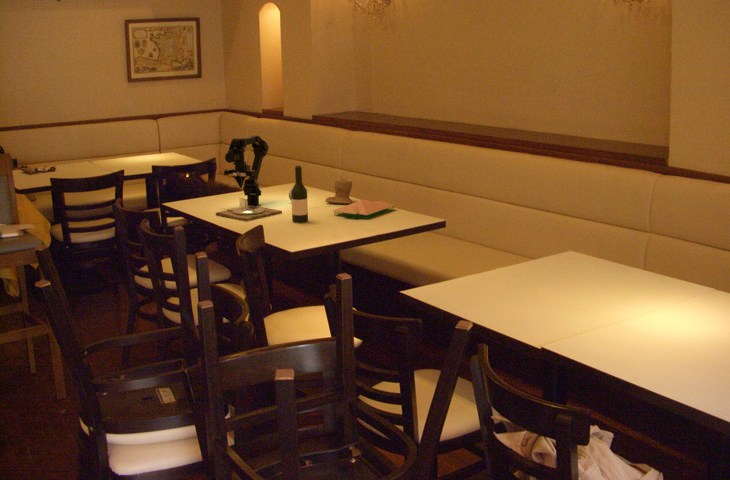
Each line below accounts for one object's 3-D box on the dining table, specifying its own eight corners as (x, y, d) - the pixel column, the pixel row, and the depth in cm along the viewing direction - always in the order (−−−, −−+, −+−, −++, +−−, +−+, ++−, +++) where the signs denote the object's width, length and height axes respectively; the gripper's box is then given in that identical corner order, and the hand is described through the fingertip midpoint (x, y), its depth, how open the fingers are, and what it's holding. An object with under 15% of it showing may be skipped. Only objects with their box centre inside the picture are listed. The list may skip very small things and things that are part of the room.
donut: (302, 201, 449) (302, 185, 447) (305, 202, 446) (304, 185, 444) (287, 203, 444) (287, 186, 442) (290, 204, 442) (289, 187, 439)
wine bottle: (292, 220, 399) (290, 164, 391) (308, 219, 399) (306, 164, 392) (292, 223, 391) (290, 167, 383) (308, 222, 391) (306, 166, 384)
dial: (226, 210, 418) (225, 199, 417) (255, 206, 428) (255, 196, 426) (241, 216, 400) (240, 205, 399) (271, 212, 409) (271, 202, 408)
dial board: (251, 207, 432) (251, 204, 432) (281, 213, 416) (281, 210, 415) (215, 215, 413) (215, 212, 413) (246, 221, 396) (246, 218, 396)
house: (329, 217, 406) (329, 202, 404) (362, 206, 433) (361, 193, 431) (364, 221, 394) (364, 206, 392) (395, 210, 421) (395, 196, 419)
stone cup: (355, 202, 445) (355, 177, 441) (348, 205, 434) (347, 180, 431) (332, 200, 450) (332, 176, 447) (324, 204, 440) (324, 179, 436)
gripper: (260, 159, 424) (262, 186, 427) (233, 158, 431) (234, 184, 434) (250, 161, 414) (252, 189, 418) (222, 160, 421) (224, 187, 424)
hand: (240, 187), depth 424 cm, fingers closed
